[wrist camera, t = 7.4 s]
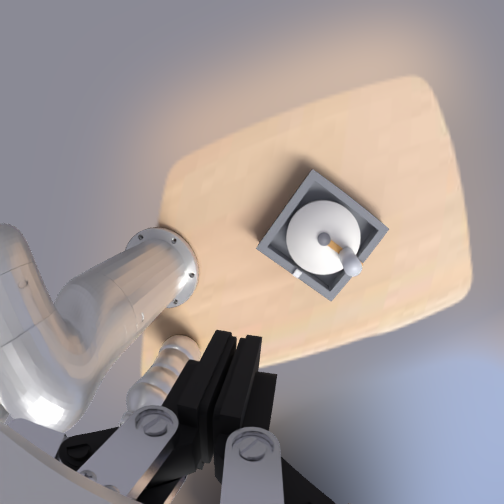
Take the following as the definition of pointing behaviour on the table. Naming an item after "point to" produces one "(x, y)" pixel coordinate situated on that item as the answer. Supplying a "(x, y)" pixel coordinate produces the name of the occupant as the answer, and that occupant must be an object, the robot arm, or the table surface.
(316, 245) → the white crank wheel
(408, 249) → the table surface
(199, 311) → the table surface
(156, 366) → the plastic bottle
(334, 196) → the housing
